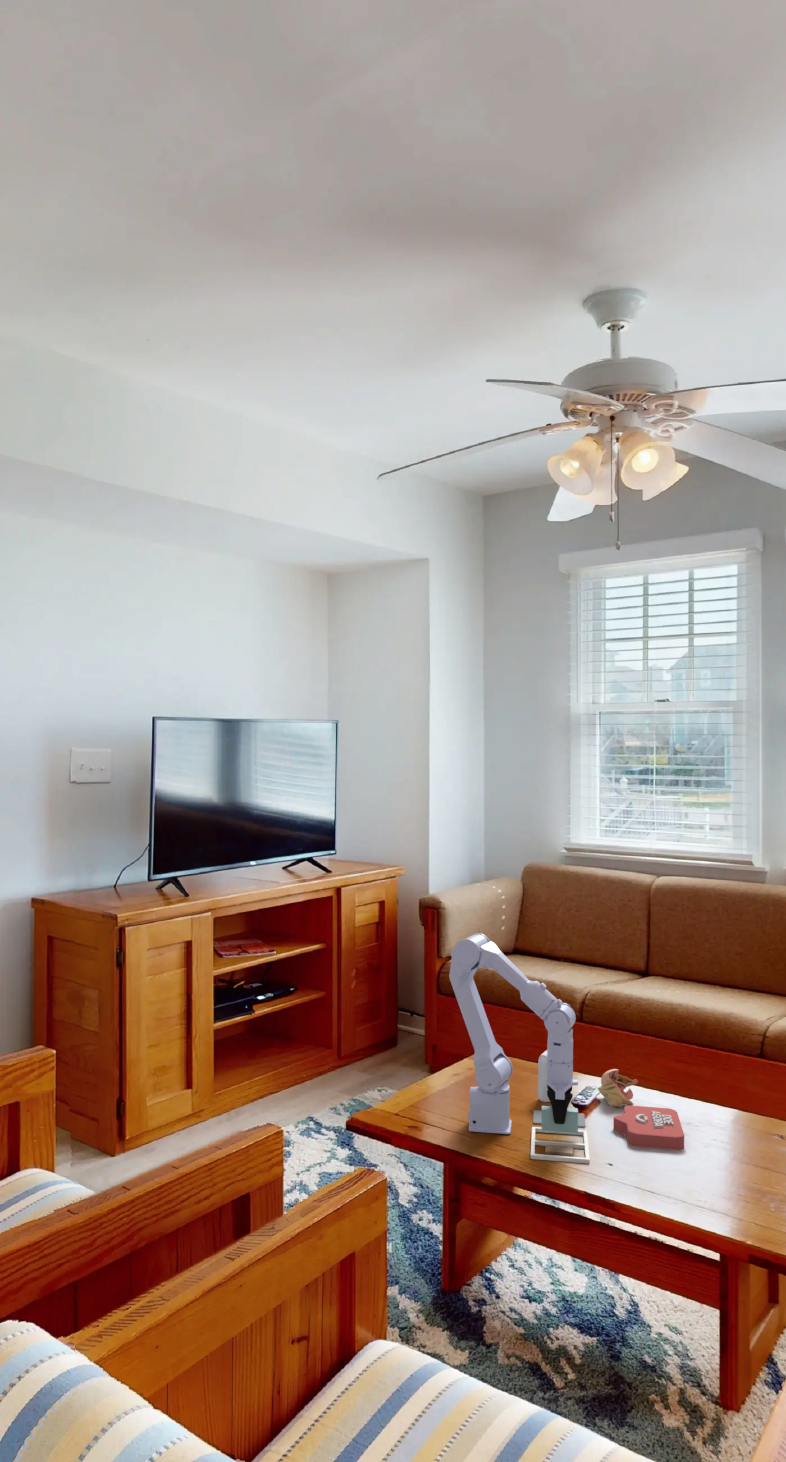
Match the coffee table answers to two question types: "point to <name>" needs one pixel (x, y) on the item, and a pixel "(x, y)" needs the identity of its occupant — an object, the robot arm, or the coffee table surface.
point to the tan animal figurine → (616, 1088)
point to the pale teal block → (568, 1126)
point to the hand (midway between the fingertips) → (559, 1121)
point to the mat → (538, 1118)
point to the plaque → (650, 1127)
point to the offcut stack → (559, 1150)
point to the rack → (560, 1158)
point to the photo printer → (542, 1077)
